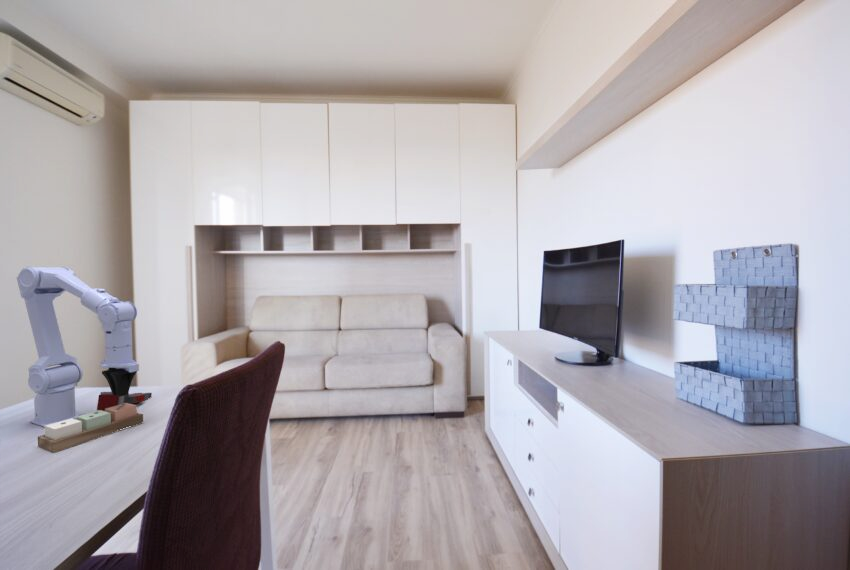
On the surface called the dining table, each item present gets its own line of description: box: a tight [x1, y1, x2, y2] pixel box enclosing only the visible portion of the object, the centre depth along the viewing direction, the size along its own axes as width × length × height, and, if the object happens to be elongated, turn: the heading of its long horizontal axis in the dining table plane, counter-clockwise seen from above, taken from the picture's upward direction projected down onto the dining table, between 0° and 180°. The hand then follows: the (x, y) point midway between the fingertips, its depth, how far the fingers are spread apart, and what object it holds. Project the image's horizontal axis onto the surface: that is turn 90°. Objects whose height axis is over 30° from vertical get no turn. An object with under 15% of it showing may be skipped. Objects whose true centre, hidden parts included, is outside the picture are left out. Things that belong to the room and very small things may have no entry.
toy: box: [96, 391, 152, 411], centre depth 115 cm, size 9×6×15 cm
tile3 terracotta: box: [105, 403, 138, 422], centre depth 100 cm, size 5×5×4 cm
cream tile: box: [44, 418, 82, 441], centre depth 89 cm, size 5×5×4 cm
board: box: [37, 412, 144, 454], centre depth 94 cm, size 8×19×2 cm, turn 156°
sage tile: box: [76, 410, 111, 431], centre depth 94 cm, size 5×5×4 cm
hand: (120, 394), depth 99 cm, fingers closed
